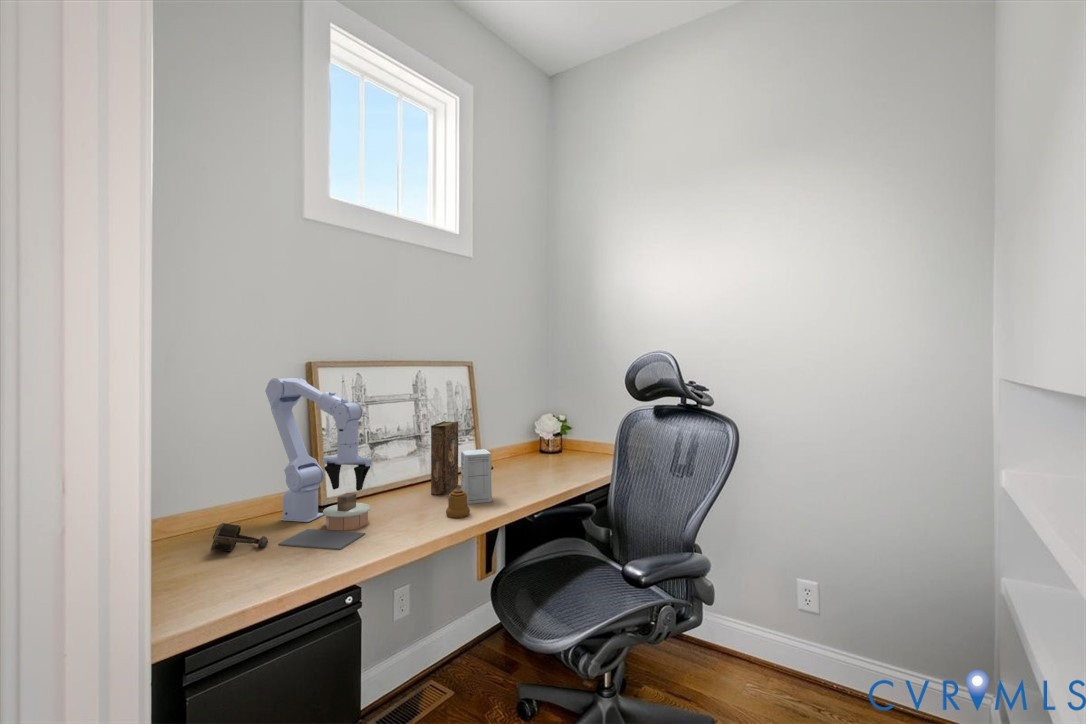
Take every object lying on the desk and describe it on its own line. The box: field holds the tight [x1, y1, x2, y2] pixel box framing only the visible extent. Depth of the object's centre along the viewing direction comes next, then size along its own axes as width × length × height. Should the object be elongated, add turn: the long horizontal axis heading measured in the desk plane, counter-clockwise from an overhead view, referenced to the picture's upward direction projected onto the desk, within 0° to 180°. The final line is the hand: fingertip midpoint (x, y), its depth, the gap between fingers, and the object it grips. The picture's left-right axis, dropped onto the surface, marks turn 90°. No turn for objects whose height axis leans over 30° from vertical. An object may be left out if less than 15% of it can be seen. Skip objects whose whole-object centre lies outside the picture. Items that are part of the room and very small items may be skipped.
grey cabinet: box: [460, 448, 493, 505], centre depth 177 cm, size 10×9×17 cm
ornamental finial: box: [445, 488, 471, 519], centre depth 159 cm, size 8×8×8 cm
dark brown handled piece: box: [209, 522, 269, 552], centre depth 130 cm, size 7×13×10 cm
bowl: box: [325, 511, 369, 532], centre depth 150 cm, size 11×11×4 cm
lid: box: [322, 492, 371, 517], centre depth 150 cm, size 13×13×5 cm
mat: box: [277, 528, 366, 551], centre depth 137 cm, size 18×12×1 cm, turn 79°
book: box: [430, 420, 459, 496], centre depth 191 cm, size 16×6×25 cm, turn 172°
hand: (347, 489), depth 150 cm, fingers open, 7 cm apart
